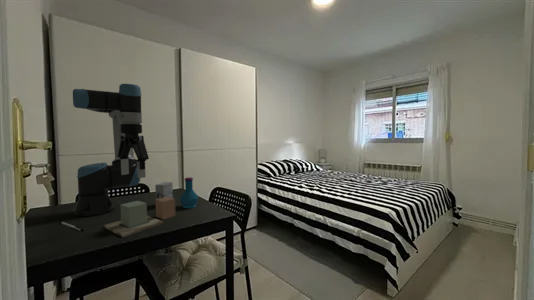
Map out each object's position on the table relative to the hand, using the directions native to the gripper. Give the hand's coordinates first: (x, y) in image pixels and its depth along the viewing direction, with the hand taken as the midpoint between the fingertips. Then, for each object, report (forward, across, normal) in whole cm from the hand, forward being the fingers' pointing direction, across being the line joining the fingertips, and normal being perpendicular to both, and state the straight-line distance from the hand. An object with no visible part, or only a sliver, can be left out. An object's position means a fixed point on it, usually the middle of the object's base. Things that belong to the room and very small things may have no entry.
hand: (133, 176), depth 96 cm
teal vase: (+21, -4, +30) cm, 37 cm away
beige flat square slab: (+21, 0, 0) cm, 21 cm away
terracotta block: (+21, 0, +14) cm, 25 cm away
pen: (+21, -20, -15) cm, 33 cm away
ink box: (+21, -17, +24) cm, 36 cm away
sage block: (+20, 0, 0) cm, 20 cm away
